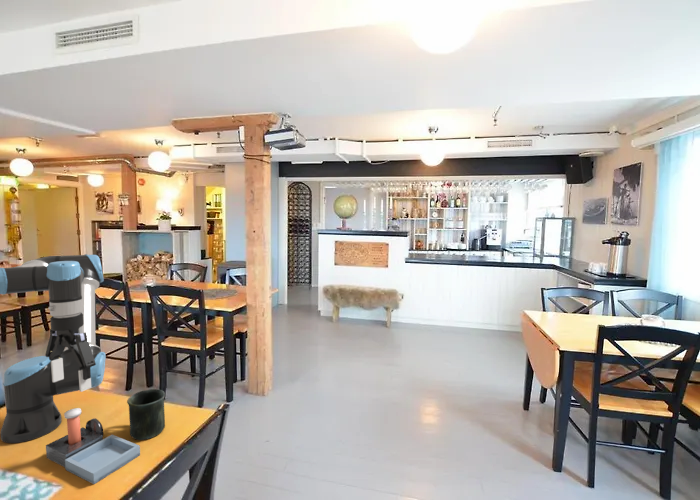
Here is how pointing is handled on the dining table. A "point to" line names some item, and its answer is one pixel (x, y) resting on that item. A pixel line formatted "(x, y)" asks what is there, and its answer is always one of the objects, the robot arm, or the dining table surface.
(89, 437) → the block
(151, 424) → the mug
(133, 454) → the tray
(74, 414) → the pin
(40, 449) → the dining table surface
